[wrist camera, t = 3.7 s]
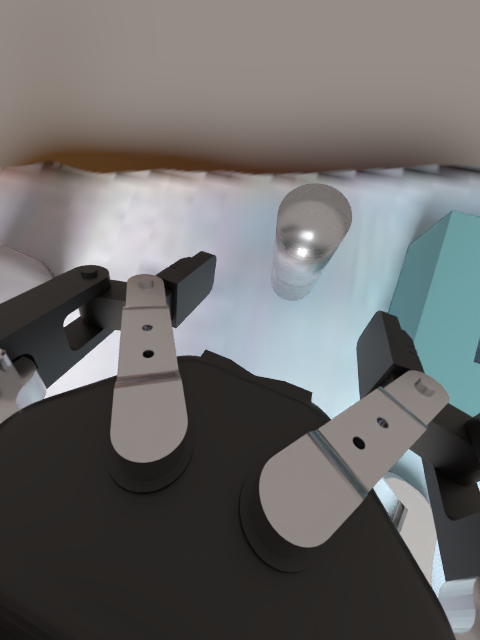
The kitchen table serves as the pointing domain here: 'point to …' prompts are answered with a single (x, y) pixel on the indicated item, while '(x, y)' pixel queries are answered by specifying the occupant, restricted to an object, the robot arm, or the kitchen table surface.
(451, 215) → the socket block
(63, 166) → the kitchen table surface
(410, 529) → the adjustable wrench
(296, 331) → the kitchen table surface
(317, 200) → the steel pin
